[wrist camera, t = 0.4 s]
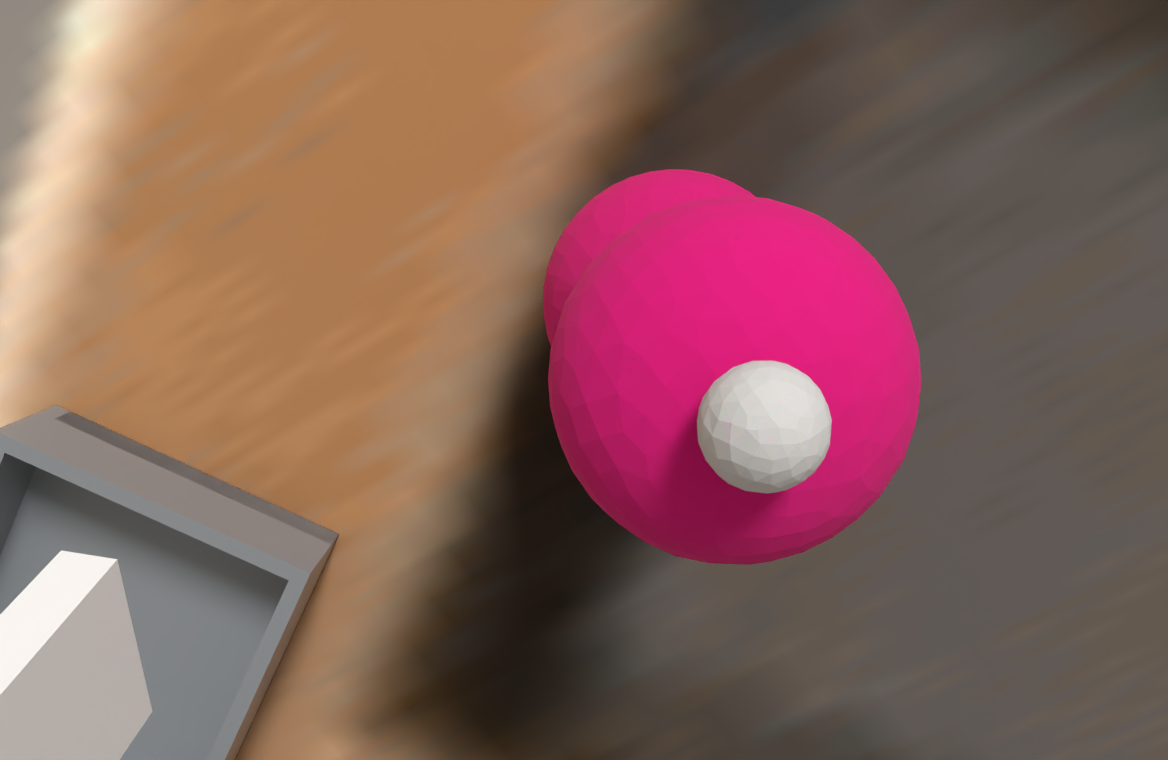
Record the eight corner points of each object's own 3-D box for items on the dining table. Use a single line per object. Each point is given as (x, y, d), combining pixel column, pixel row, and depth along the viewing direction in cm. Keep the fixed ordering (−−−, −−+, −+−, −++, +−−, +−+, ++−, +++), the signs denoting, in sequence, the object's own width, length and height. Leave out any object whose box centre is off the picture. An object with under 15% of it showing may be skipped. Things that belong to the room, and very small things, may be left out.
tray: (225, 780, 36) (186, 843, 32) (-47, 663, 35) (-116, 715, 31) (338, 534, 34) (310, 573, 31) (55, 405, 33) (-6, 430, 30)
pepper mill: (821, 313, 33) (1173, 507, 13) (635, 442, 33) (700, 808, 14) (691, 124, 31) (861, 19, 12) (503, 261, 32) (369, 377, 13)
